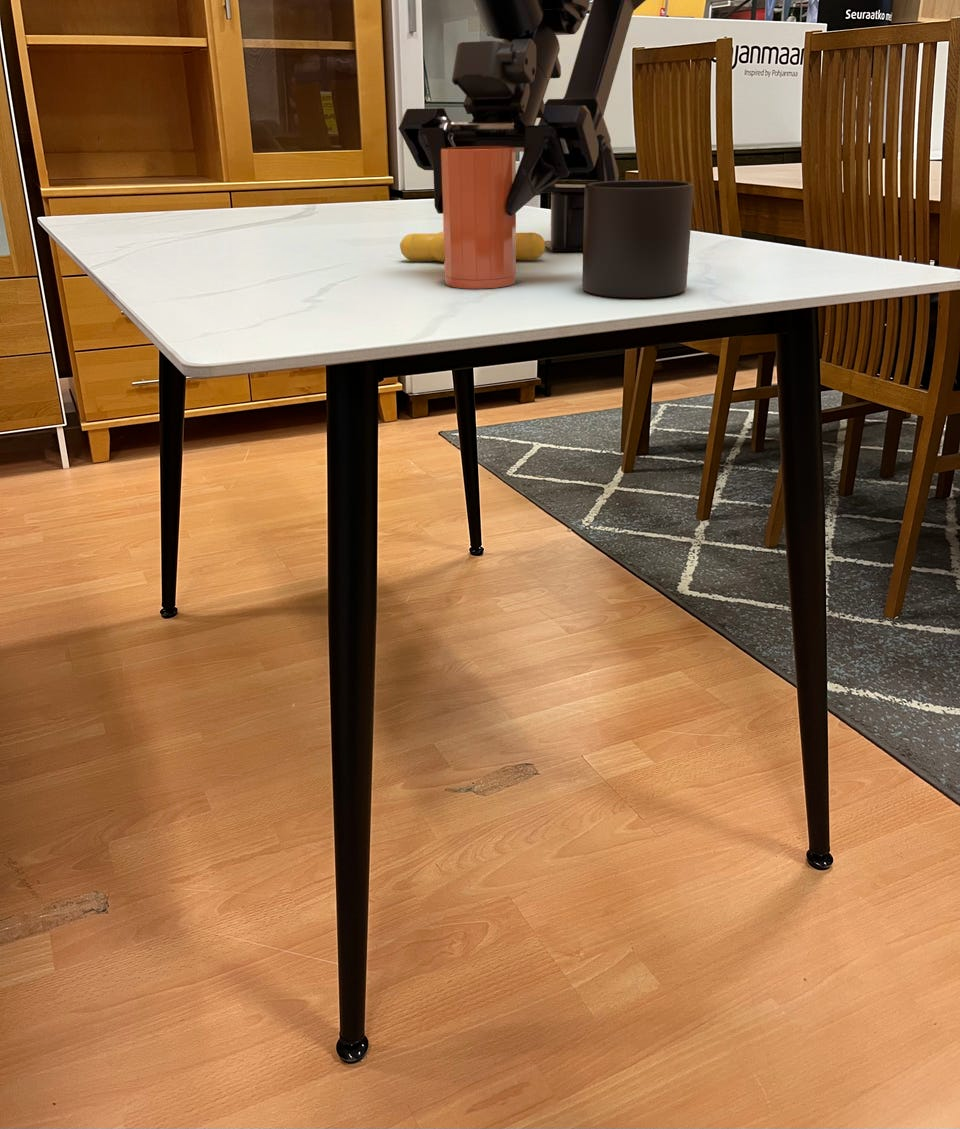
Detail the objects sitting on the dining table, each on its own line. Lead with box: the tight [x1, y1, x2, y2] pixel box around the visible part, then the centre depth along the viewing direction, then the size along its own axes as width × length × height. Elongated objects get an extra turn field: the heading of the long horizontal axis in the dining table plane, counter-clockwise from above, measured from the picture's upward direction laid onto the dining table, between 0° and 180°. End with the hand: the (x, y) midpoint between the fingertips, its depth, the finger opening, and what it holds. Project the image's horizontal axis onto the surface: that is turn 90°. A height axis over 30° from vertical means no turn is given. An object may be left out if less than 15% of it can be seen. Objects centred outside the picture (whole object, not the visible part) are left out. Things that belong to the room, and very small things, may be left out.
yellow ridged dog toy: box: [399, 231, 546, 263], centre depth 105 cm, size 16×4×3 cm, turn 86°
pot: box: [440, 146, 517, 290], centre depth 90 cm, size 7×7×12 cm
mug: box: [581, 179, 695, 299], centre depth 87 cm, size 9×12×9 cm
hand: (472, 211), depth 89 cm, fingers closed on pot, 7 cm apart
